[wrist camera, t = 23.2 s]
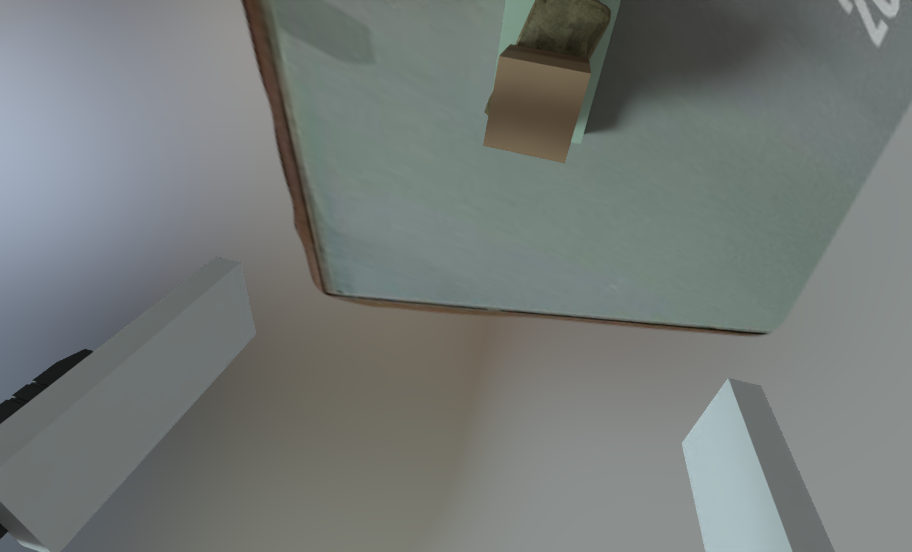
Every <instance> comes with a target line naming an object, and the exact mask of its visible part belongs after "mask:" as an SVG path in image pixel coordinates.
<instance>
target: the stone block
mask: <svg viewBox="0 0 912 552" xmlns="http://www.w3.org/2000/svg"><path fill="white" fill-rule="evenodd" d="M610 19H611V10H610V9H609V8H608V6H607V5H605V4H603V3H601V2H600V1H599V0H535V2H534V4H533V6H532V8H531V10H530V13H529V15H528V17H527V19H526V21H525V24H524V26H523V28H522V30H521V33H520V35H519V37H518V39H517V41H516V44H515V45H518V46H524V47H529V48H534V49H539V50H545V51H550V52H555V53H561V54H566V55H571V56H576V57H582V58H587V59H590V58H591V56H592V54H593V52H594V50H595V48H596V47H597V45H598V43H599V41H600V40H601V38H602V36H603V34H604V33H605V31H606V29H607V27H608V25H609V22H610ZM492 93H493V92H492ZM491 99H492V94H491V96H490V98H489V100H488V103H487V105H486V108H485V113H486V114H487V115H488V116H489V110H490V105H491Z"/></svg>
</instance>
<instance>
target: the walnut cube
mask: <svg viewBox="0 0 912 552" xmlns="http://www.w3.org/2000/svg"><path fill="white" fill-rule="evenodd" d="M590 76H591V69H590V61H589V59H587V58H582V57H576V56H571V55H566V54H561V53H555V52H550V51H545V50H539V49H534V48H529V47H524V46H518V45H513V44H510V45H509V46H508V47H507V48H506V49H505V50H504V51H503V52H502V53H501V54H500V56H499V59H498V65H497V71H496V76H495V82H494V88H493V93H492V99H491V105H490V110H489V116H488V122H487V127H486V133H485V139H484V144H483V146H488V147H492V148H497V149H501V150H506V151H511V152H515V153H520V154H525V155H529V156H534V157H539V158H543V159H548V160H553V161H557V162H562V163H565V160H566V157H567V153H568V150H569V146H570V143H571V140H572V136H573V133H574V130H575V126H576V123H577V119H578V116H579V113H580V109H581V106H582V103H583V99H584V96H585V92H586V89H587V86H588V82H589V79H590Z"/></svg>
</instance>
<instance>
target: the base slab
mask: <svg viewBox="0 0 912 552" xmlns="http://www.w3.org/2000/svg"><path fill="white" fill-rule="evenodd" d="M599 1H600V2H601V3H603V4H605V5H607V6H608V8H609V9H610V10H611V19H610V22H609V25H608V27H607V29H606V31H605V33H604V34H603V36H602V38H601V40H600V41H599V43H598V45H597V47H596V48H595V50H594V52H593V54H592V56H591V58H590V59H589V61H590V69H591V76H590V79H589V82H588V86H587V89H586V92H585V96H584V99H583V103H582V106H581V109H580V113H579V116H578V119H577V123H576V126H575V130H574V133H573V136H572V140H571V142H572V143H577V144H581V141H582V137H583V134H584V130H585V127H586V123H587V120H588V116H589V113H590V109H591V105H592V102H593V98H594V95H595V91H596V88H597V84H598V81H599V77H600V74H601V70H602V66H603V63H604V59H605V56H606V52H607V49H608V45H609V42H610V38H611V35H612V31H613V28H614V24H615V20H616V17H617V13H618V10H619V6H620V3H621V0H599ZM534 2H535V0H506V2H505V9H504V15H503V22H502V29H501V35H500V42H499V49H498V55H497V62H496V69H495V75H494V82H495V76H496V71H497V65H498V59H499V56H500V54H501V53H502V52H503V51H504V50H505V49H506V48H507V47H508V46H509V45H510V44H513V45H515V44H516V41H517V39H518V37H519V35H520V33H521V30H522V28H523V26H524V24H525V21H526V19H527V17H528V15H529V13H530V10H531V8H532V6H533V4H534ZM494 82H493V88H494ZM492 92H493V89H492Z"/></svg>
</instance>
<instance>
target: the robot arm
mask: <svg viewBox="0 0 912 552" xmlns="http://www.w3.org/2000/svg"><path fill="white" fill-rule="evenodd" d="M255 334H256V331H255V327H254V322H253V318H252V313H251V308H250V303H249V299H248V294H247V290H246V285H245V281H244V276H243V271H242V267H241V262H237V261H233V260H229V259H225V258H220V257H215V258H213V259H212V260H211V261H210V262H208V263H207V264H206V265H204V266H203V267H202V268H200V269H199V270H198V271H197V272H195V273H194V274H193V275H192V276H190V277H189V278H188V279H186V280H185V281H184V282H183V283H181V284H180V285H179V286H177V287H176V288H175V289H173V290H172V291H171V292H170V293H169V294H167V295H166V296H164V297H163V298H162V299H161V300H159V301H158V302H157V303H155V304H154V305H153V306H152V307H150V308H149V309H148V310H147V311H145V312H144V313H143V314H141V315H140V316H139V317H137V318H136V319H135V320H134V321H133V322H131V323H130V324H129V325H127V326H126V327H125V328H123V329H122V330H121V331H120V332H118V333H117V334H116V335H114V336H113V337H112V338H110V339H109V340H108V341H107V342H105V343H104V344H103V345H102V346H100V347H99V348H98V349H96V350H95V351H91V350H87V349H84V350H82V351H80V352H78V353H75V354H73V355H71V356H69V357H67V358H65V359H63V360H61V361H59V362H56V363H55V364H54V365H52V366H51V367H50V368H48V369H47V370H46V371H44V372H43V373H42V374H40V375H39V376H38V377H36V378H35V379H33V380H32V383H31V384H30V385H28V384H27V385H25V386H24V387H23V388H21V389H20V390H19V391H17V392H16V393H15V394H13V395H12V398H11V399H10V400H5V401H4V402H3V403H1V404H0V539H1V538H2V537H3V536H4V535H5V534H6V533H7V532H9V533H10V534H11V535H12V536H13V537H14V538H15V539H16V540H17V541H18V542H19V543H20V544H21V545H22V546H26V547H28V548H31V549H34V550H37V551H40V552H60V551H61V550H62V549H63V548H64V547H65V546H66V545H67V544H68V543H69V541H70V540H71V539H72V538H73V537H74V536H75V534H77V533H78V531H79V530H80V529H81V528H82V527H83V526H84V525H85V524H86V522H87V521H88V520H89V519H90V518H91V517H92V516H93V515H94V514H95V512H96V511H97V510H98V509H99V508H100V507H101V506H102V505H103V503H104V502H105V501H106V500H107V499H108V498H109V496H111V495H112V494H113V492H114V491H115V490H116V489H117V488H118V487H119V486H120V485H121V484H122V482H123V481H124V480H125V479H126V478H127V477H128V476H129V475H130V473H131V472H132V471H133V470H134V469H135V468H136V467H137V466H138V465H139V463H140V462H141V461H142V460H143V459H144V458H145V457H146V456H147V455H148V453H149V452H150V451H151V450H152V449H153V448H154V447H155V446H156V445H157V443H158V442H159V441H160V440H161V439H162V438H163V437H164V436H165V435H166V433H167V432H168V431H169V430H170V429H171V428H172V427H173V426H174V424H175V423H176V422H177V421H178V420H179V419H180V418H181V417H182V415H183V414H184V413H185V412H186V411H187V410H188V409H189V408H190V407H191V406H192V404H193V403H194V402H195V401H196V400H197V399H198V398H199V397H200V396H201V394H202V393H203V392H204V391H205V390H206V389H207V388H208V386H210V384H211V383H212V382H213V381H214V380H215V379H216V378H217V377H218V375H219V374H220V373H221V372H222V371H223V370H224V369H225V368H226V367H227V365H228V364H229V363H230V362H231V361H232V360H233V358H235V357H236V355H237V354H238V353H239V352H240V351H241V350H242V349H243V348H244V346H245V345H246V344H247V343H248V342H249V341H250V340H251V339H252V338H253V337H254V335H255ZM682 446H683V451H684V455H685V460H686V465H687V469H688V474H689V478H690V483H691V487H692V492H693V496H694V501H695V505H696V510H697V515H698V519H699V524H700V528H701V533H702V537H703V542H704V546H705V551H706V552H835V551H834V549H833V547H832V544H831V542H830V540H829V538H828V536H827V533H826V531H825V529H824V526H823V524H822V522H821V520H820V517H819V515H818V513H817V511H816V508H815V506H814V504H813V502H812V499H811V497H810V495H809V493H808V490H807V488H806V486H805V484H804V481H803V480H802V477H801V475H800V472H799V470H798V468H797V466H796V463H795V461H794V459H793V457H792V455H791V452H790V450H789V448H788V445H787V443H786V441H785V439H784V436H783V434H782V432H781V430H780V427H779V425H778V423H777V421H776V418H775V416H774V414H773V412H772V409H771V407H770V405H769V403H768V400H767V398H766V396H765V394H764V391H763V389H762V387H761V386H759V385H755V384H751V383H747V382H742V381H738V380H734V379H730V378H728V379H727V381H726V382H725V383H724V385H723V386H722V388H721V389H720V390H719V392H718V393H717V395H716V396H715V397H714V399H713V400H712V402H711V403H710V405H709V406H708V407H707V409H706V410H705V412H704V413H703V414H702V416H701V417H700V419H699V420H698V421H697V423H696V424H695V426H694V427H693V428H692V430H691V431H690V433H689V434H688V436H687V437H686V438H685V440H684V441H683V443H682Z"/></svg>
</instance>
